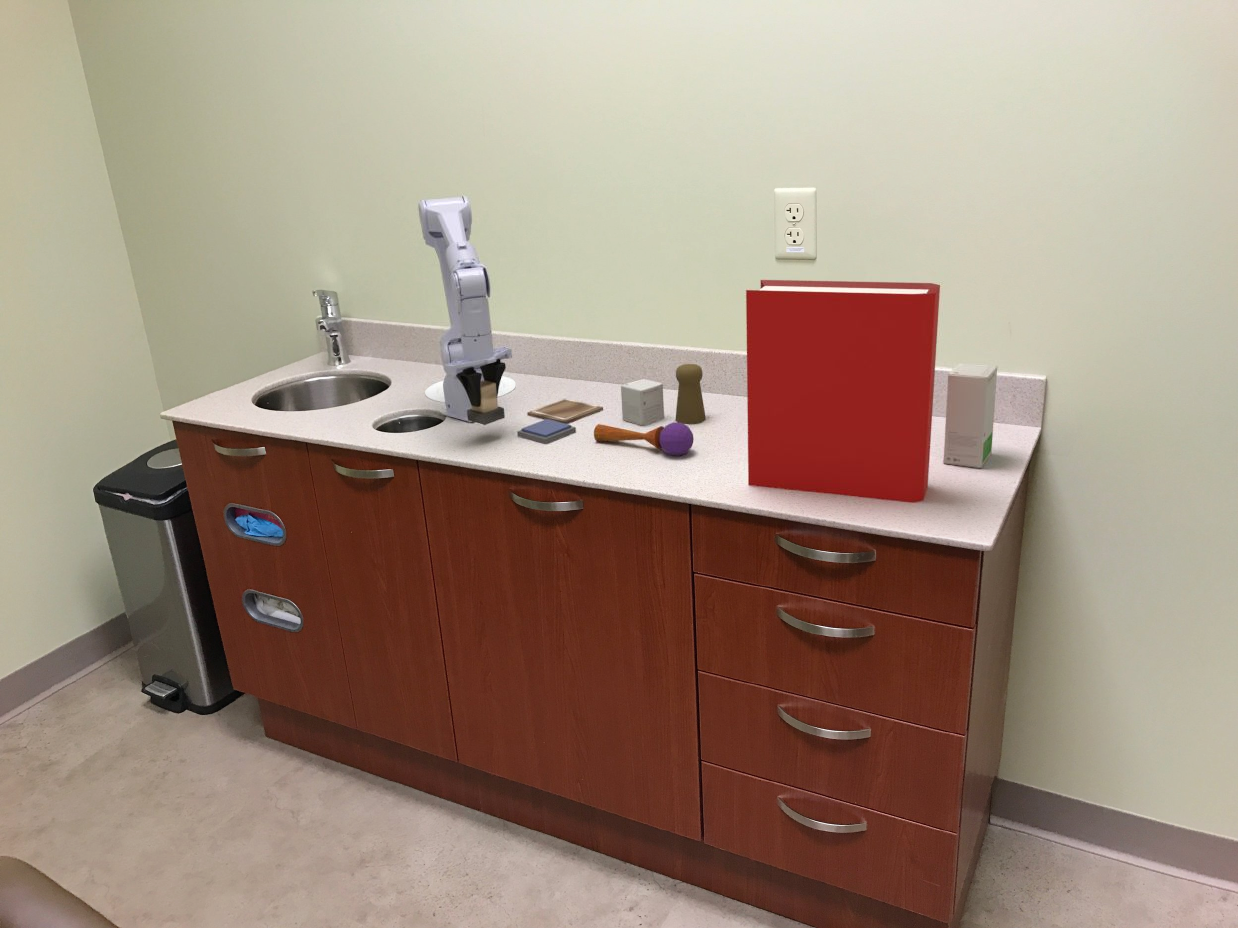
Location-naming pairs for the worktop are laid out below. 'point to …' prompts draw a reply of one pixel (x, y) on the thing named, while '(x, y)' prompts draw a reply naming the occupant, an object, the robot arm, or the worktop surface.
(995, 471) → the worktop surface
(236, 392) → the worktop surface
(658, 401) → the skincare box
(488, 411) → the stamp
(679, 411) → the cork
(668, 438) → the purple maraca
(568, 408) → the board
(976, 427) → the skincare box
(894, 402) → the book
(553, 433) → the ink pad
